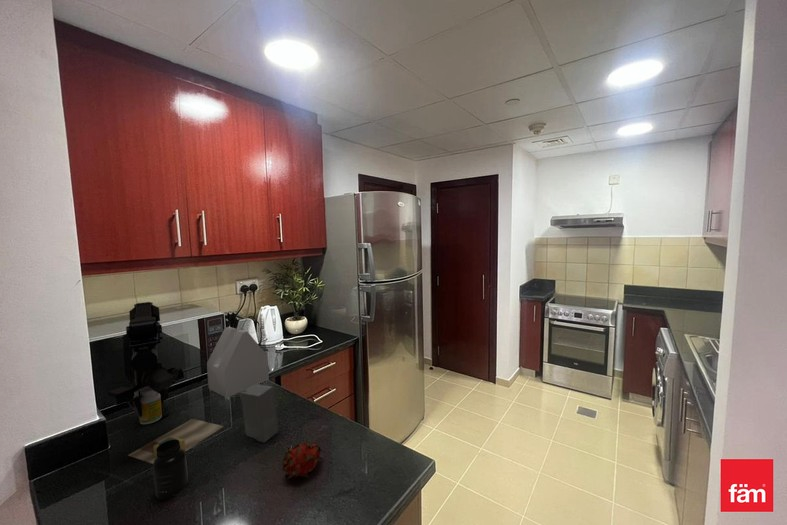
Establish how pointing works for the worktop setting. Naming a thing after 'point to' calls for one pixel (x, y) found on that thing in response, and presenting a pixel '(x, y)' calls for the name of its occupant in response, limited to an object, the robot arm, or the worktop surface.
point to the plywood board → (188, 431)
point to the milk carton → (236, 363)
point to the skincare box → (259, 412)
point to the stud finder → (182, 441)
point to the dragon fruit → (301, 459)
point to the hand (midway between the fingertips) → (150, 411)
